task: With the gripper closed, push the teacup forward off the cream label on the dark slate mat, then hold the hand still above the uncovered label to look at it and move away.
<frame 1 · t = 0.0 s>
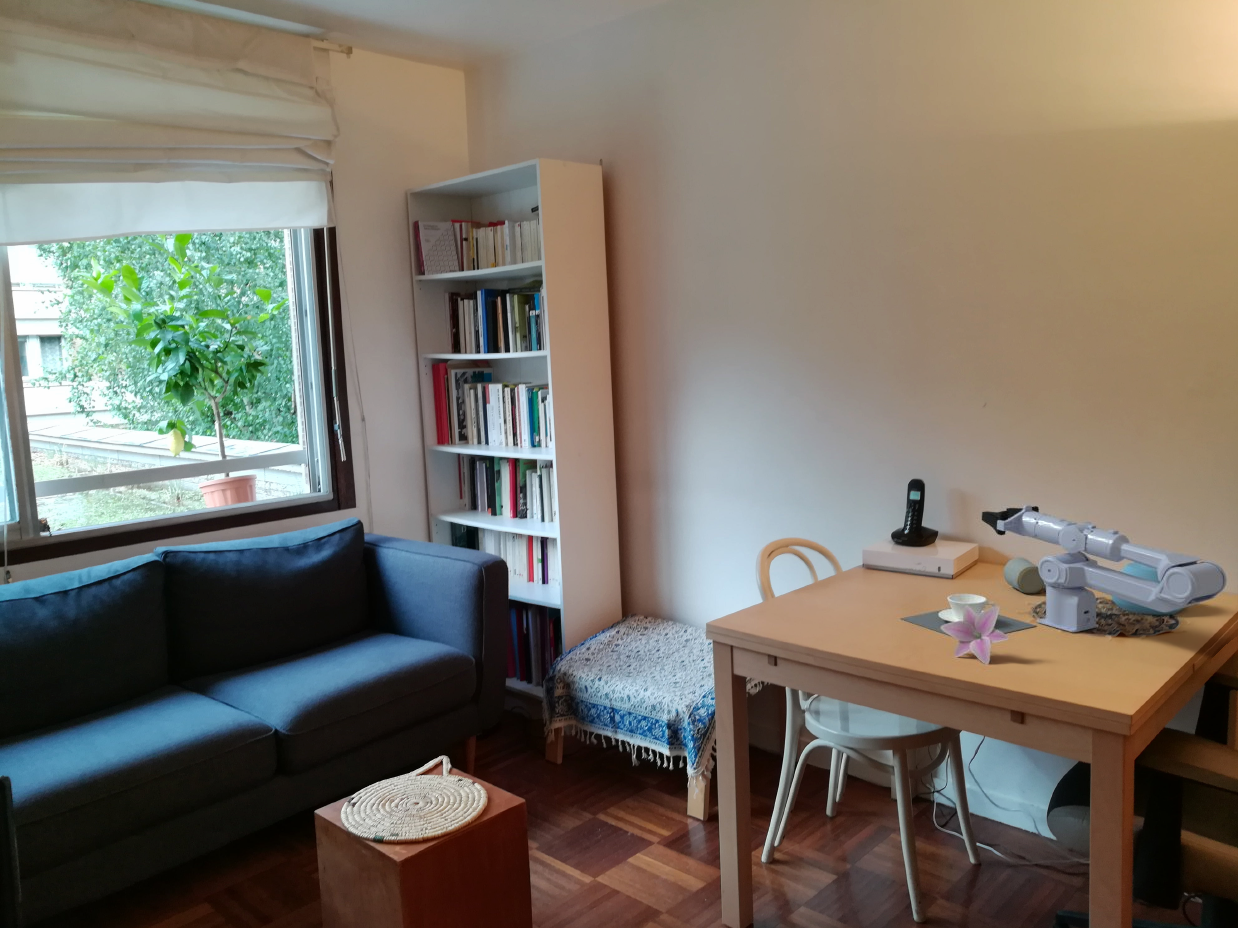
hand: (995, 514, 214), 22 cm above the table, tool horizontal, fingers open, 7 cm apart
ceramic mug: (1029, 591, 228), on the table
teacup: (966, 622, 204), resting on label mat
lily: (975, 656, 182), on the table
label mat: (966, 622, 204), on the table
sugar bowl: (1148, 608, 209), on the table
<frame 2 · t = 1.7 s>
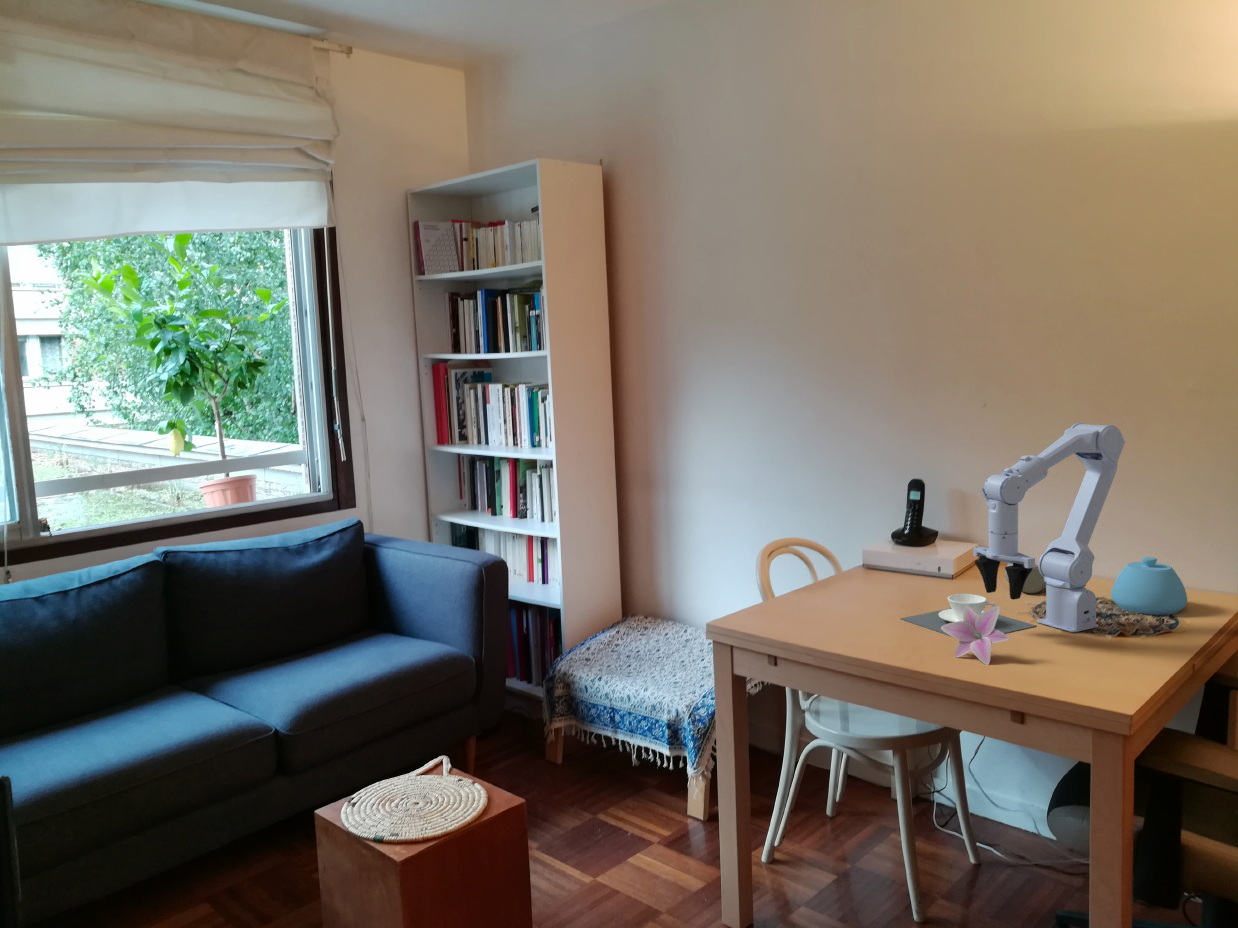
hand: (1003, 595, 194), 8 cm above the table, tool pointing down, fingers open, 6 cm apart
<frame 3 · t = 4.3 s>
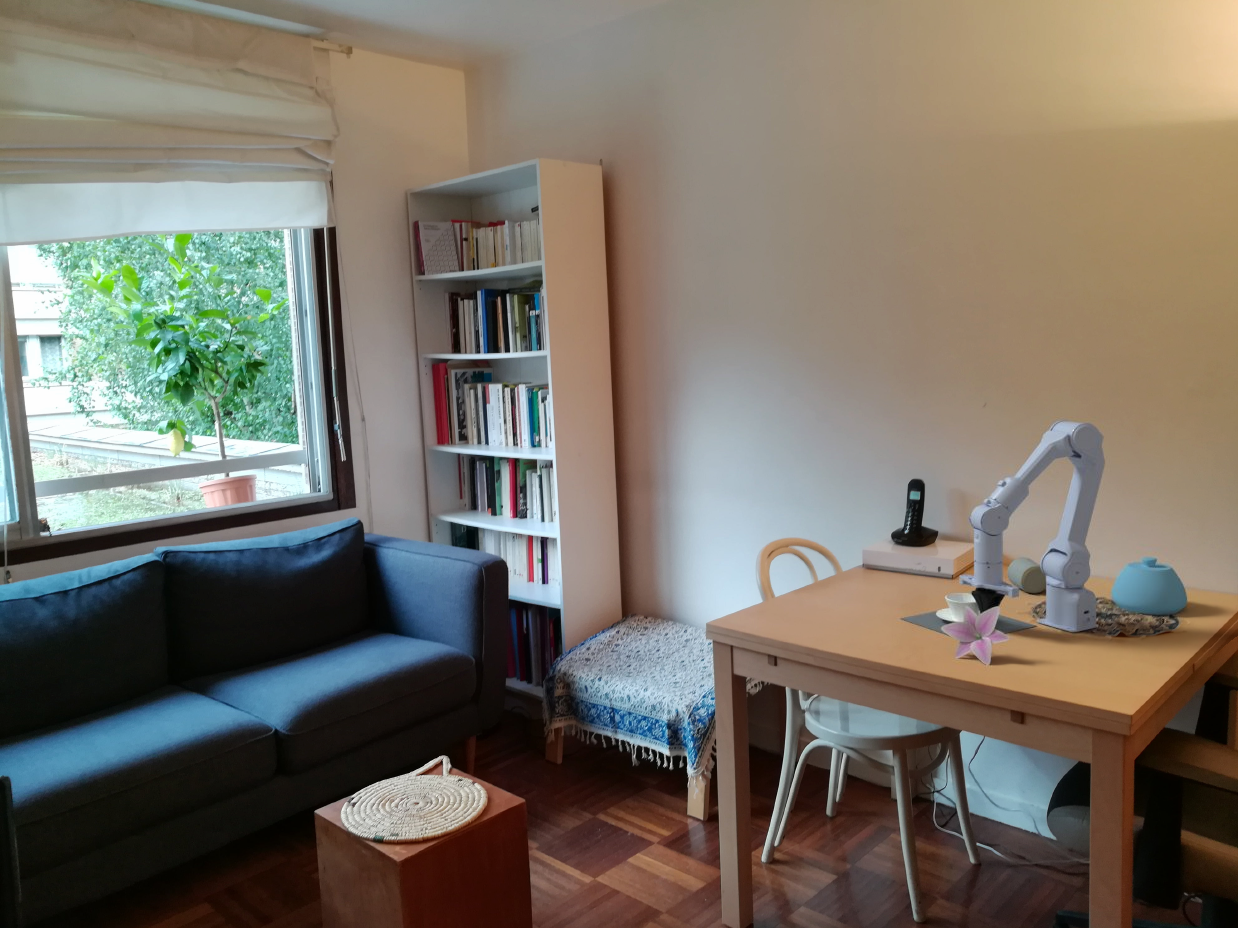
hand: (988, 622, 198), 1 cm above the table, tool pointing down, fingers closed
teacup: (964, 621, 204), resting on label mat, touching gripper
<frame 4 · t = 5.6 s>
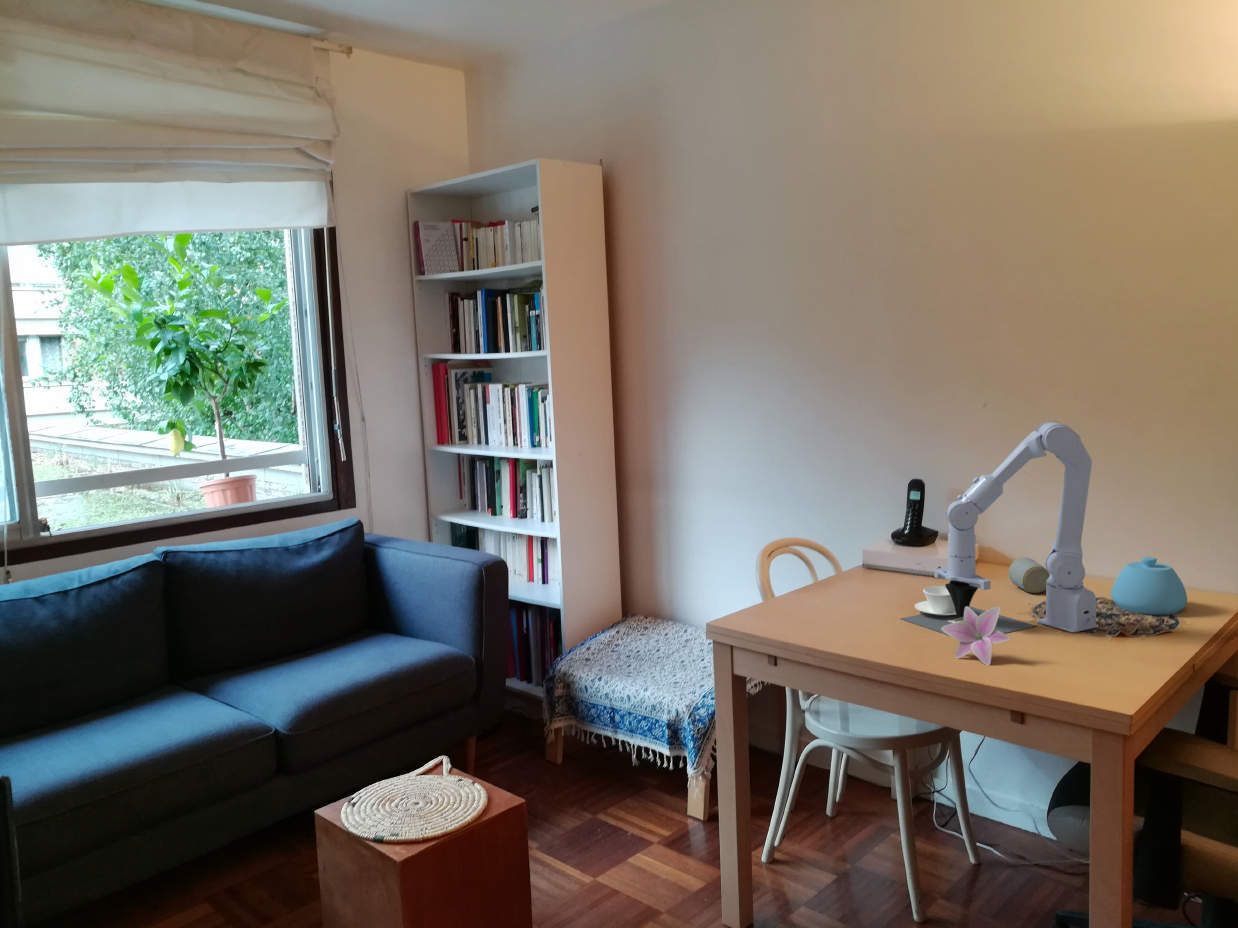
hand: (961, 614, 205), 1 cm above the table, tool pointing down, fingers closed
teacup: (941, 613, 211), resting on label mat, touching gripper
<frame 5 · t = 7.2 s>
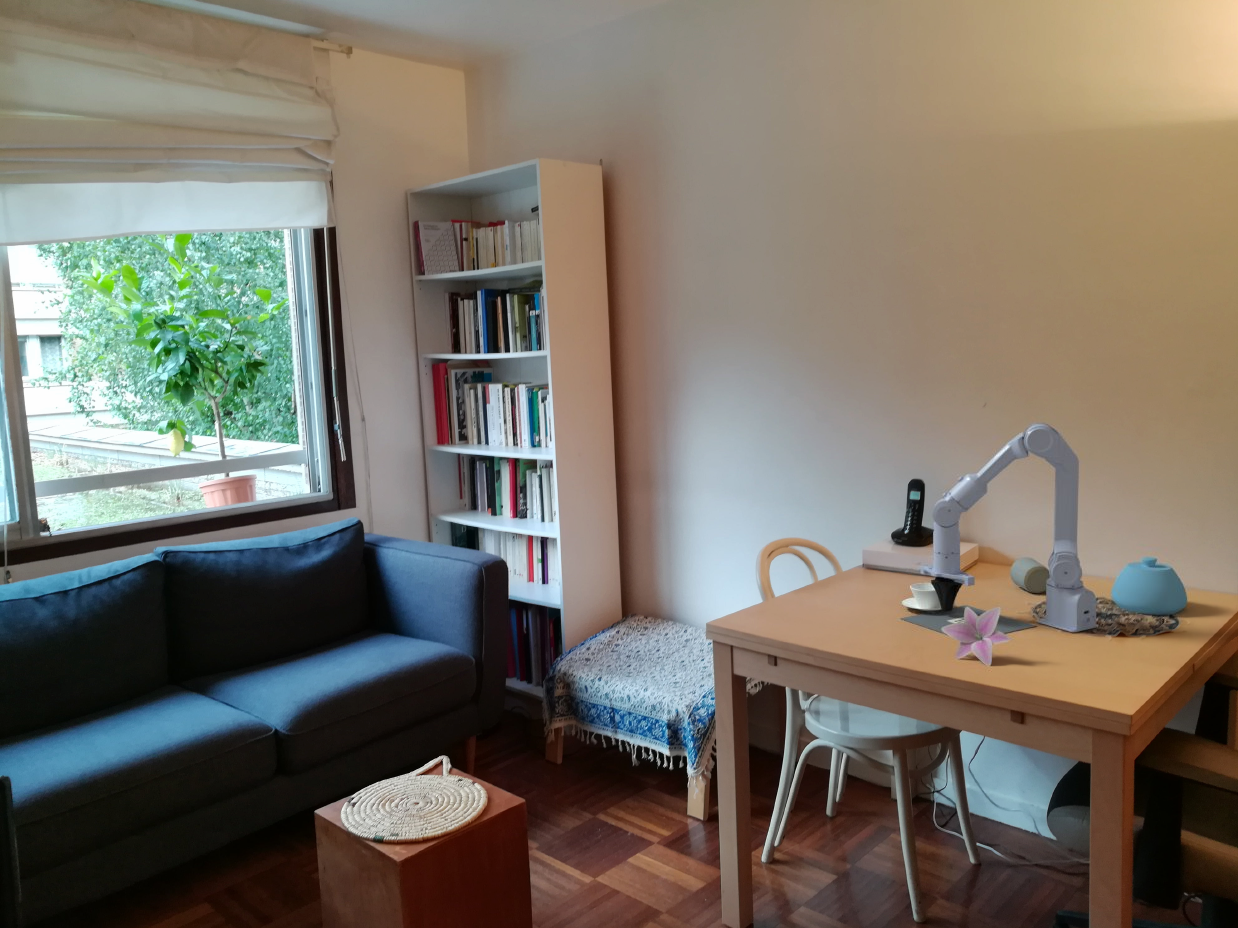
hand: (946, 610, 209), 1 cm above the table, tool pointing down, fingers closed
teacup: (928, 609, 215), on the table, touching gripper
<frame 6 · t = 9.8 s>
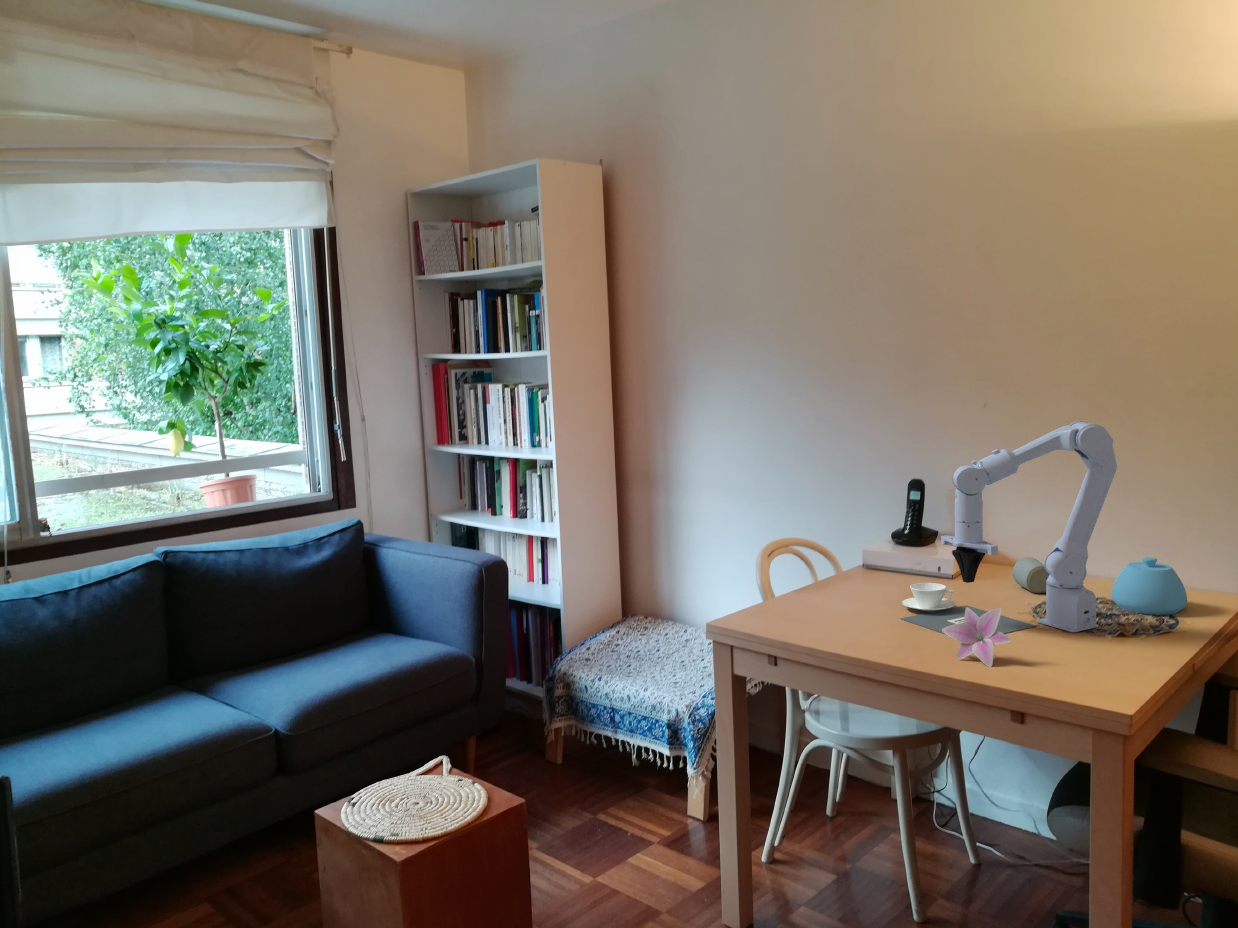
hand: (968, 581, 202), 9 cm above the table, tool pointing down, fingers closed
teacup: (928, 609, 215), on the table, touching label mat
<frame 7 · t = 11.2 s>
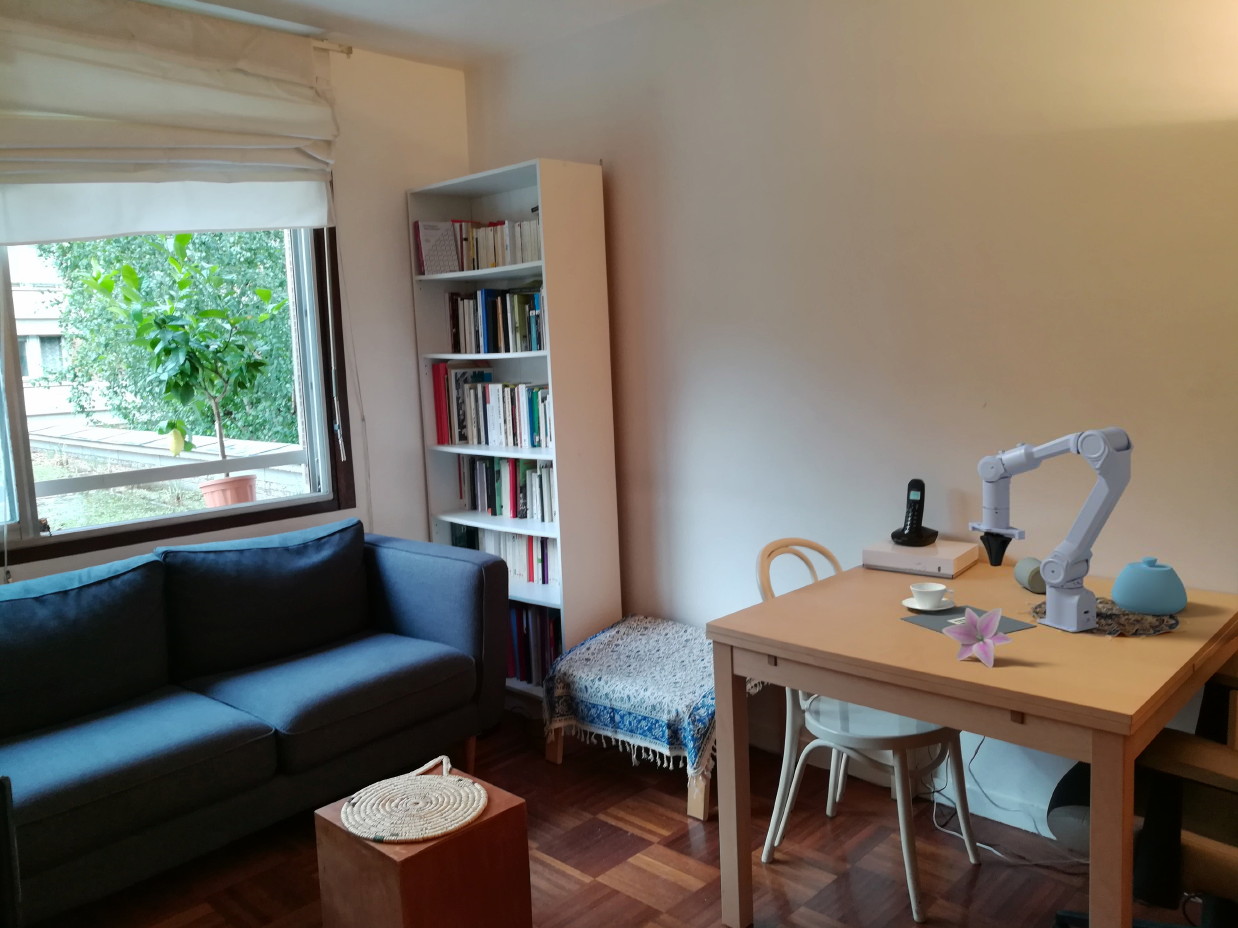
hand: (995, 565, 211), 10 cm above the table, tool pointing down, fingers closed
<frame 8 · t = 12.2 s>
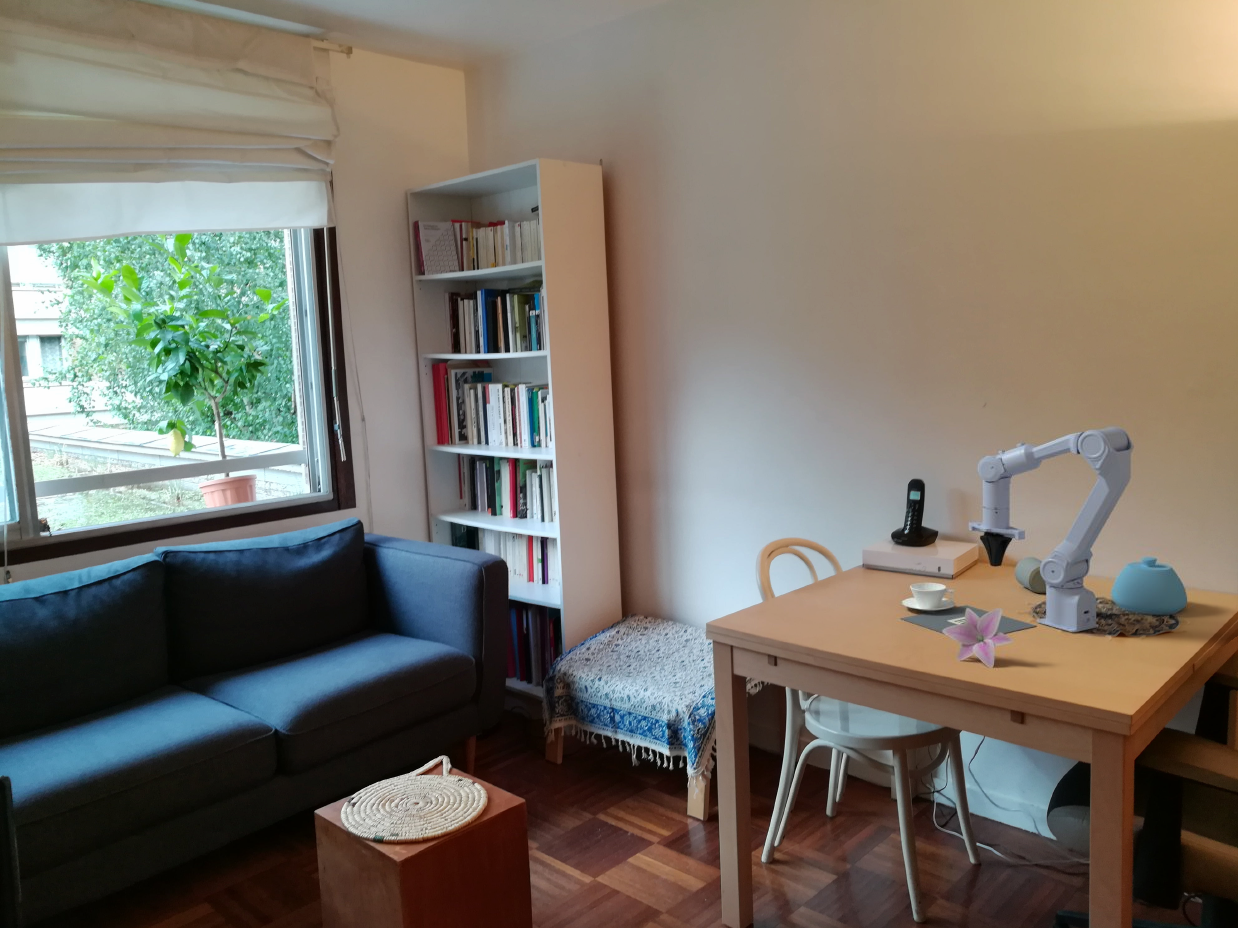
hand: (995, 565, 211), 10 cm above the table, tool pointing down, fingers closed
at the end: teacup moved 12.7 cm from its start; teacup inside the target area on the table beside the label mat (2.5 cm from its centre), on the table; teacup tilted 1° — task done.
